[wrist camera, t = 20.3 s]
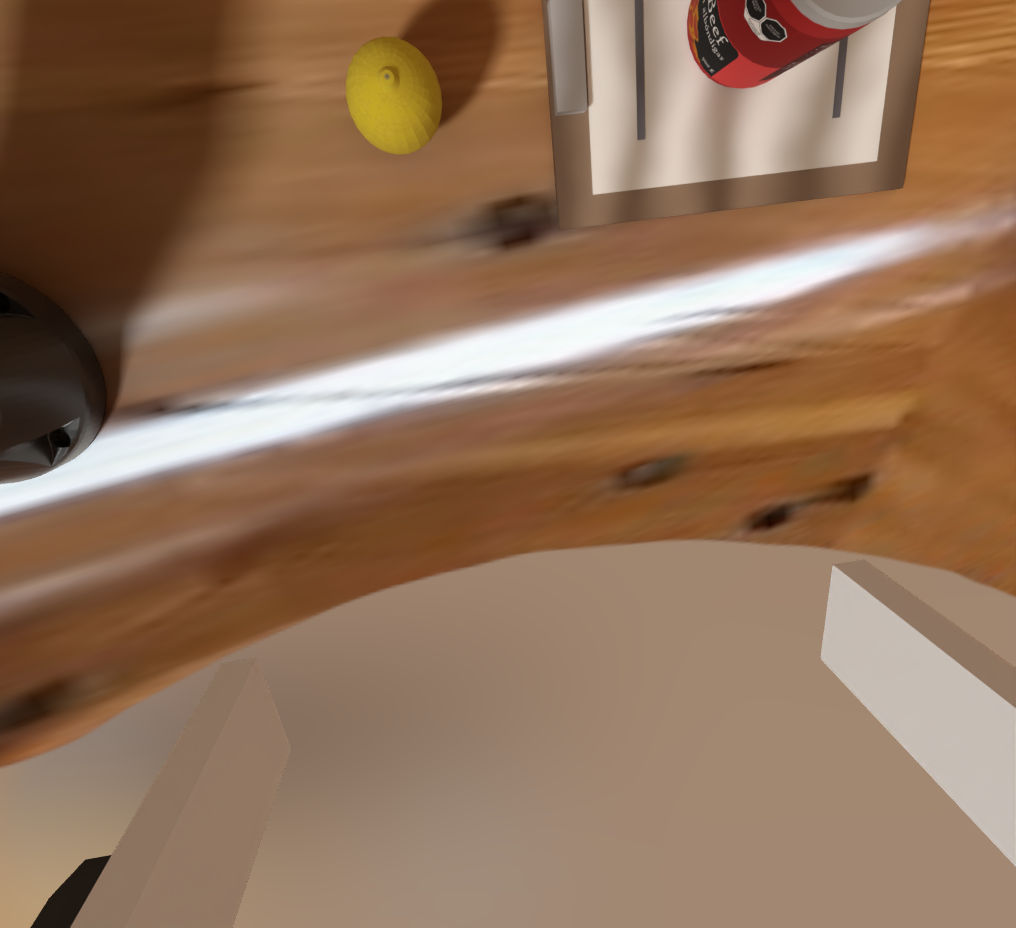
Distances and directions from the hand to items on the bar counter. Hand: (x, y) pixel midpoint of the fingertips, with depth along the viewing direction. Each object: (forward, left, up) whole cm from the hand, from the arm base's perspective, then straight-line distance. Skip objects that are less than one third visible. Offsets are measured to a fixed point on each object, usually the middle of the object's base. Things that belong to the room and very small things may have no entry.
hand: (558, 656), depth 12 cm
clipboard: (+20, +20, -32) cm, 42 cm away
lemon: (-3, +18, -32) cm, 37 cm away
